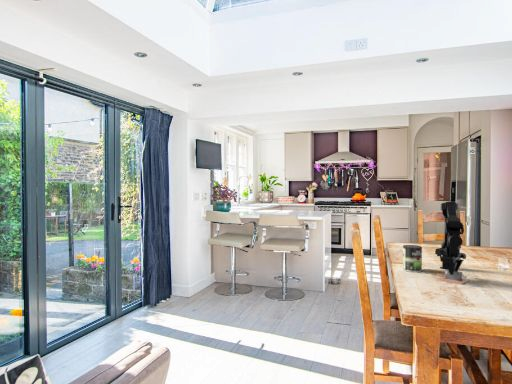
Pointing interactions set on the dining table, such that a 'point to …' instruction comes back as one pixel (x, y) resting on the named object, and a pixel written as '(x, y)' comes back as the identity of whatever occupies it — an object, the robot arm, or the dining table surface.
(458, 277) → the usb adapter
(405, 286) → the dining table surface
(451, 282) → the plate
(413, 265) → the coffee can
